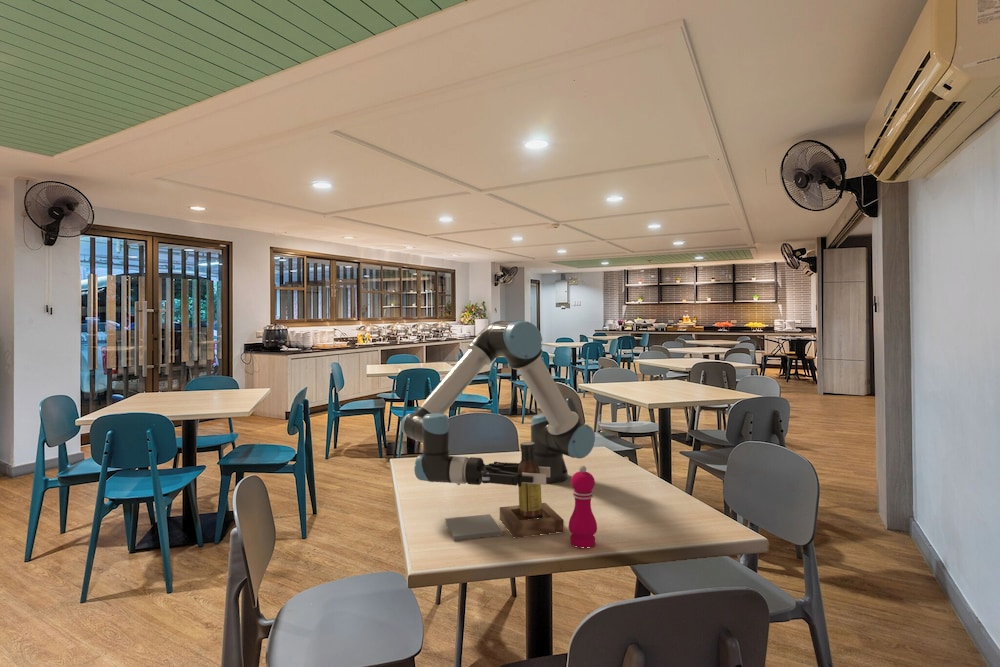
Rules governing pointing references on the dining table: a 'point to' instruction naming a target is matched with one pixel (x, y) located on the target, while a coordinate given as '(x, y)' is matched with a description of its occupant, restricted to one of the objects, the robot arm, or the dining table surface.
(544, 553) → the dining table surface
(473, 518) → the slate tile
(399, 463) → the dining table surface
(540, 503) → the sauce bottle
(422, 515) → the dining table surface
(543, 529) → the bottle holder
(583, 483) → the pepper mill
